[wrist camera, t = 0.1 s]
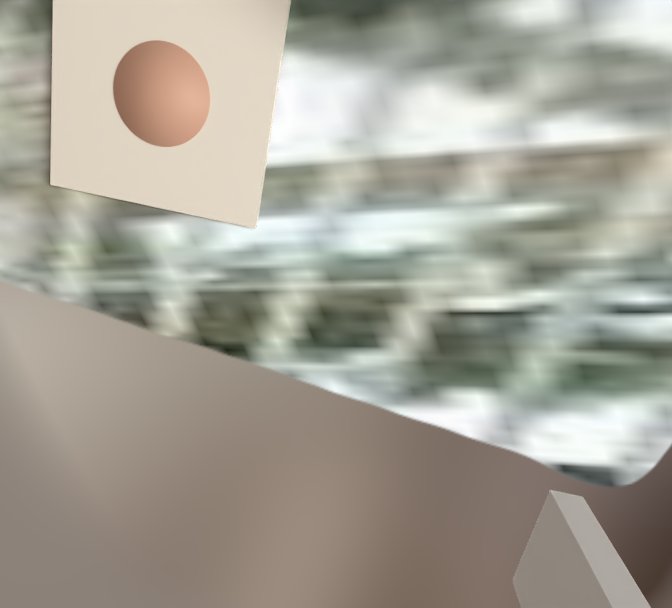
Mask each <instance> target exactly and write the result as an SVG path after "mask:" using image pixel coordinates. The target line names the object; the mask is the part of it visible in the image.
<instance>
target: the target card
mask: <svg viewBox="0 0 672 608" xmlns="http://www.w3.org/2000/svg"><path fill="white" fill-rule="evenodd" d="M290 5H291V0H53V28H52V100H51V172H50V185H54V186H59V187H63V188H68V189H73V190H77V191H82V192H87V193H91V194H96V195H101V196H106V197H110V198H115V199H120V200H124V201H129V202H134V203H138V204H143V205H148V206H152V207H157V208H162V209H166V210H171V211H176V212H180V213H185V214H190V215H194V216H199V217H204V218H208V219H213V220H218V221H222V222H227V223H232V224H236V225H241V226H246V227H250V228H257V223H258V216H259V210H260V203H261V196H262V190H263V183H264V177H265V170H266V163H267V157H268V150H269V144H270V137H271V130H272V124H273V117H274V111H275V104H276V97H277V91H278V84H279V77H280V71H281V64H282V58H283V51H284V44H285V38H286V31H287V25H288V18H289V11H290Z"/></svg>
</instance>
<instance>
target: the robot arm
mask: <svg viewBox="0 0 672 608" xmlns="http://www.w3.org/2000/svg"><path fill="white" fill-rule="evenodd" d="M512 581H513V585H514V587H515V591H516V594H517V597H518V599H519V602H520V605H521V608H651V607H650V606H649V604H648V603H647V601H646V599H645V598H644V596H643V594H642V593H641V591H640V589H639V588H638V586H637V584H636V583H635V581H634V580H633V578H632V576H631V575H630V573H629V571H628V570H627V568H626V566H625V565H624V563H623V562H622V560H621V558H620V557H619V555H618V553H617V552H616V550H615V549H614V547H613V545H612V544H611V542H610V541H609V539H608V537H607V535H606V534H605V532H604V531H603V529H602V527H601V526H600V524H599V522H598V521H597V519H596V518H595V516H594V514H593V513H592V511H591V510H590V508H589V506H588V505H587V503H586V501H585V500H584V498H583V497H581V496H577V495H572V494H567V493H563V492H558V491H553V490H550V491H549V493H548V496H547V498H546V501H545V503H544V505H543V508H542V510H541V513H540V515H539V517H538V520H537V522H536V525H535V527H534V529H533V532H532V534H531V537H530V539H529V541H528V544H527V546H526V548H525V552H524V553H523V556H522V558H521V560H520V563H519V565H518V568H517V570H516V572H515V575H514V578H513V580H512Z"/></svg>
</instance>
